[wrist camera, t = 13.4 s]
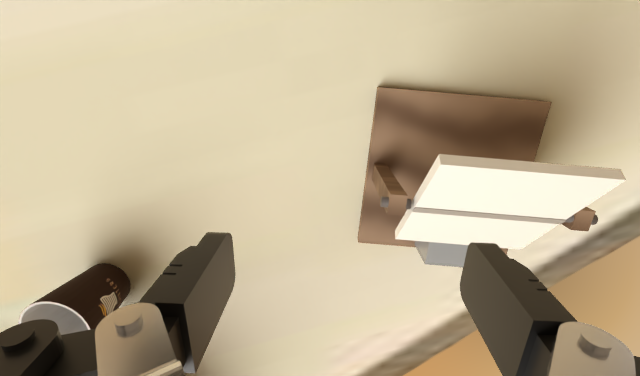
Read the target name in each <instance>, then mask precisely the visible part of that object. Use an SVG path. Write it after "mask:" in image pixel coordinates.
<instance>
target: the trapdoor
mask: <svg viewBox="0 0 640 376" xmlns="http://www.w3.org/2000/svg"><path fill="white" fill-rule="evenodd" d="M625 180H626V179H625V177H624V175H623V173H622V171H621V169H612V168H600V167H589V166H577V165H565V164H553V163H541V162H529V161H517V160H505V159H493V158H482V157H470V156H458V155H446V154H439V155H438V156H437V158H436V160H435V162H434V163H433V165H432V167H431V169H430V170H429V172H428V174H427V176H426V177H425V179H424V181H423V183H422V184H421V186H420V188H419V190H418V191H417V193H416V195H415V197H414V198H413V200H412V204H411V209H407V211H406V212H405V215H404V216H403V218H402V219H401V221H400V223H399V225H398V226H397V228H396V230H395V239H400V240H412V241H424V242H436V243H448V244H460V245H469V244H470V243H472V242H475V243H495V244H497V245H498V246H499V247H500V248H509V249H522V248H524V247H525V246H527V245H528V244H530V243H532V242H533V241H535V240H536V239H538V238H539V237H541V236H542V235H544V234H545V233H547V232H548V231H550V230H551V229H553V228H554V227H556V226H557V225H559V224H562V223H564V222H565V221H567V220H566V219H568V218H569V217H571V216H572V215H574V214H575V213H577V212H578V211H580V210H581V209H583V208H585V207H586V206H588V205H589V204H591V203H592V202H594V201H595V200H597V199H598V198H600V197H601V196H603V195H604V194H606V193H607V192H609V191H610V190H612V189H613V188H615V187H616V186H618V185H619V184H621V183H622V182H624V181H625Z"/></svg>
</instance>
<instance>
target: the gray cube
mask: <svg viewBox="0 0 640 376" xmlns="http://www.w3.org/2000/svg"><path fill="white" fill-rule="evenodd" d="M415 246H416V248H417V250H418V252H419V254H420V256H421V258H422V260H423V261H424V263H425V264H430V265H442V266H454V267H464V262H465V257H466V252H467V248H468V245H460V244H448V243H436V242H424V241H415Z"/></svg>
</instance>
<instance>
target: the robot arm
mask: <svg viewBox="0 0 640 376" xmlns="http://www.w3.org/2000/svg"><path fill="white" fill-rule="evenodd" d="M234 282H235V264H234V253H233V242H232V236H231V234H230V233H215V232H208V233H206V234H205V236H204V237H203V238H202V240H201V241H200V242H199V244H198V245H197V246H190V247H188V248H187V249H185V250H184V251H182V252H180V253H179V254H177V256H176V257H175V258H174V259H173V261H172V262H171V263H170V265H169V266H168V267H167V268H166V269H165V270H164V272H163V275H160V277H159V278H158V279H157V280H156V281H155V283H154V284H153V285H152V286H151V288H150V289H149V290H148V291H147V293H146V294H145V295H144V296H143V297H142V299H141V300H140V301H139V302H138V303H135V304H130V305H126V306H124V307H121V308H119V309H117V310H115V311H113V312H111V313H110V314H109V315H107V316H106V317H105V318H104V319H103V320H102V321H101V322H100V323H99V324H98V326H97V328H95V329H90V330H85V331H80V332H74V333H69V334H64V335H61V334H60V331H59V328H58V325H57V324H56V323H55V322H54V321H52V320H48V319H38V320H32V321H28V322H24V323H21V324H18V325H16V326H13V327H11V328H9V329H7V330H5V331H3V332H1V333H0V376H185V373H196V371H197V369H198V366H199V364H200V362H201V360H202V357H203V355H204V353H205V351H206V348H207V346H208V344H209V342H210V339H211V337H212V335H213V333H214V331H215V328H216V326H217V324H218V322H219V319H220V317H221V315H222V313H223V310H224V308H225V306H226V304H227V301H228V299H229V297H230V295H231V292H232V290H233V287H234ZM460 291H461V296H462V300H463V302H464V304H465V306H466V307H467V309H468V311H469V313H470V315H471V317H472V319H473V321H474V323H475V324H476V326H477V328H478V330H479V332H480V334H481V336H482V338H483V339H484V341H485V343H486V345H487V347H488V349H489V351H490V353H491V355H492V356H493V358H494V360H495V362H496V364H497V366H498V368H499V370H500V371H501V373H502V375H503V376H640V357H636V356H633V354H632V353H631V351H630V350H629V348H627V346H626V345H625V344H624V343H622V342H621V341H620V340H618V339H617V338H616V337H614V336H613V335H611V334H610V333H608V332H606V331H604V330H602V329H600V328H597V327H595V326H592V325H589V324H585V323H581V322H577V320H575V318H574V317H573V316H572V315H571V314H570V313H569V312H568V311H567V310H566V309H565V308H564V306H562V304H561V303H560V302H559V301H558V300H557V299H556V298H555V297H554V296H553V295H552V293H551V292H549V291H547V288H546V287H545V286H544V285H543V284H542V283H541V282H539V279H538V278H537V277H536V276H535V275H534V274H533V273H532V272H531V271H530V270H529V269H528V268H527V267H525V266H523V265H522V264H520V263H519V262H517V261H516V260H514V259H509V257H508V256H507V255H506V254H505V253H504V252H503V251H502V249H501V248H500V247H499V246H498V245H497V244H495V243H475V242H472V243H470V244H469V245H468V248H467V252H466V257H465V262H464V267H463V272H462V276H461V282H460Z"/></svg>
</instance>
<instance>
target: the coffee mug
mask: <svg viewBox="0 0 640 376" xmlns="http://www.w3.org/2000/svg"><path fill="white" fill-rule="evenodd" d="M129 291H130V280H129V278H128V276H127V275H126V274H125V273H124V272H123V271H122V270H121V269H120V268H118V267H116V266H114V265H111V264H97V265H95V266H93V267H91V268H90V269H88V270H87V271H85V272H83V273H82V274H80V275H78V276H77V277H75V278H73V279H72V280H70V281H68V282H67V283H65V284H63V285H62V286H60V287H59V288H57V289H55V290H54V291H52V292H50V293H49V294H47V295H45V296H44V297H42V298H40V299H39V300H37V301H35V302H34V303H32V304H31V305H29V306H28V307H26V308H25V309H24V310H23V311H22V313H21V315H20V317H19V324H21V323H24V322H28V321H32V320H38V319H48V320H52V321H54V322H55V323H56V324H57V325H58V328H59V331H60V334H61V335H64V334H69V333H74V332H80V331H85V330H90V329H95V328H97V326H98V324H99V323H100V322H101V321H102V320H103V319H104V318H105V317H106V316H107V315H109V314H110V313H111V312H113V311H115V310H117V309H118V308H119V306H120V305H121V303H122V302H123V300H124V299H125V298H126V296H127V295H128V293H129Z"/></svg>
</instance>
